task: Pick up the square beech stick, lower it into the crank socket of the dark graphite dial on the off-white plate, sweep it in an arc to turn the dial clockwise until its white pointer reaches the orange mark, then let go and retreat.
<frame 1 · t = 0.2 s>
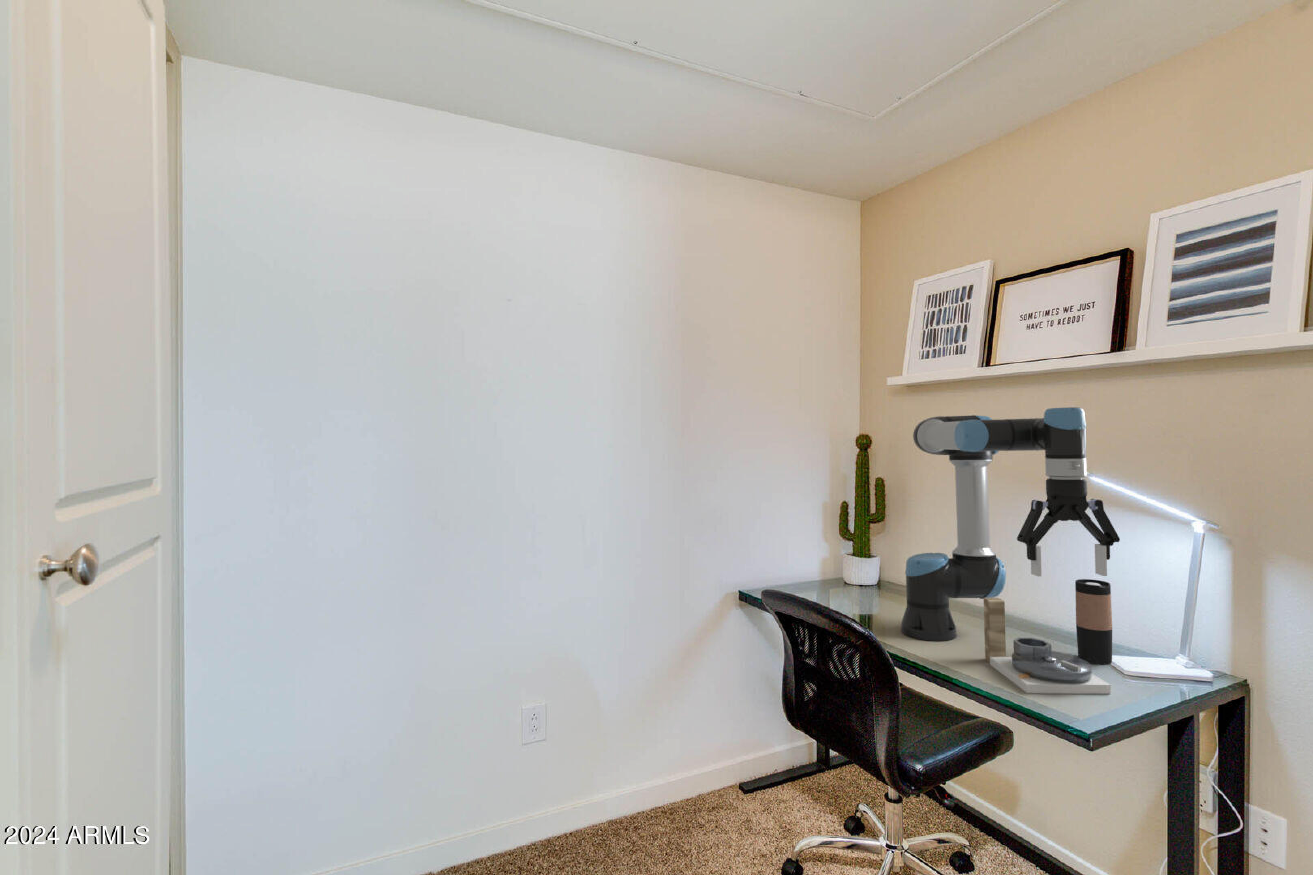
hand: (1068, 575, 135), 28 cm above the table, fingers open, 13 cm apart
stick: (995, 661, 159), on the table
dial: (1049, 658, 147), point 5 cm above the table, hinge at 0.0°
plate: (1046, 678, 147), on the table
travel mug: (1094, 660, 159), on the table
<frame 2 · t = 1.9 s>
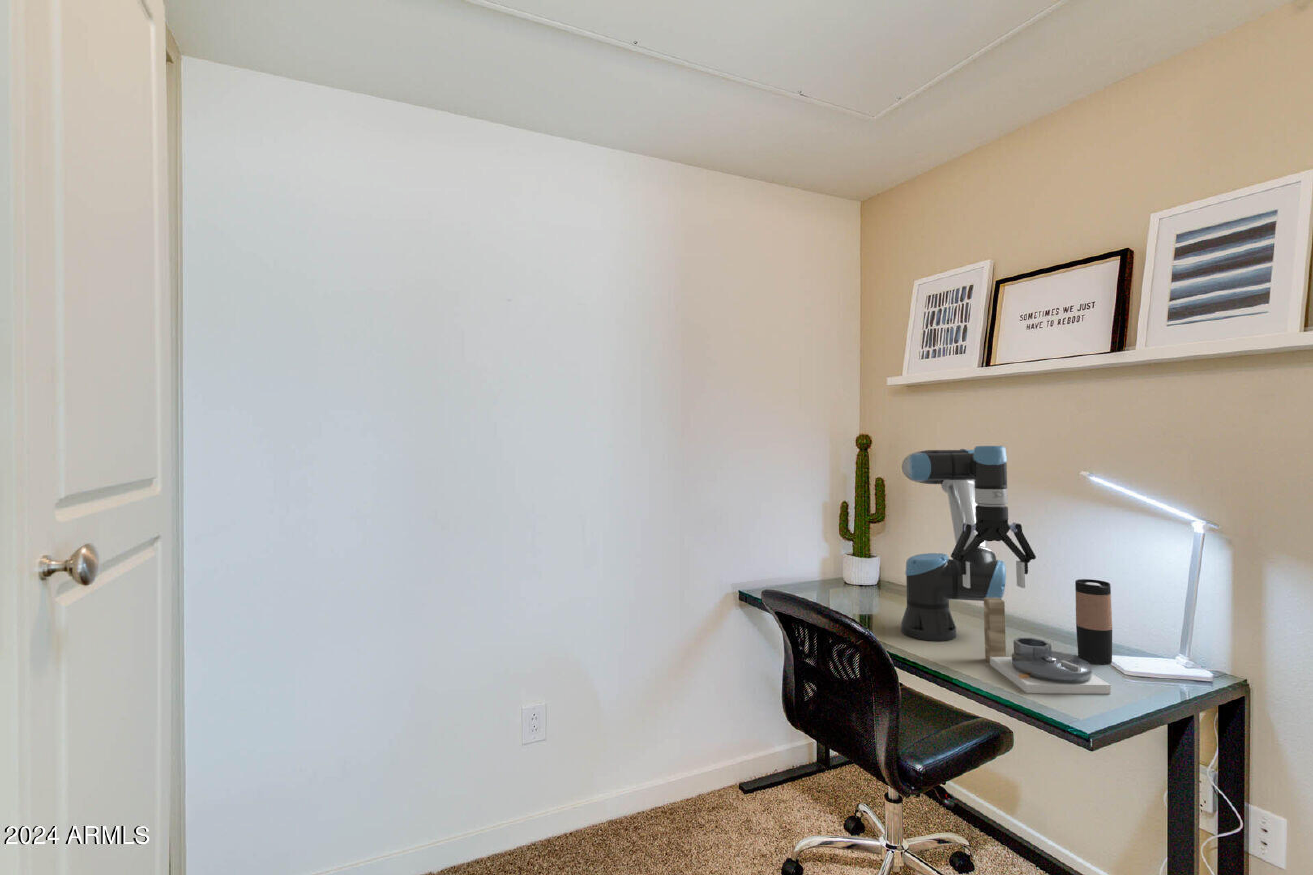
hand: (993, 587, 159), 19 cm above the table, fingers open, 13 cm apart
nothing on the table moved.
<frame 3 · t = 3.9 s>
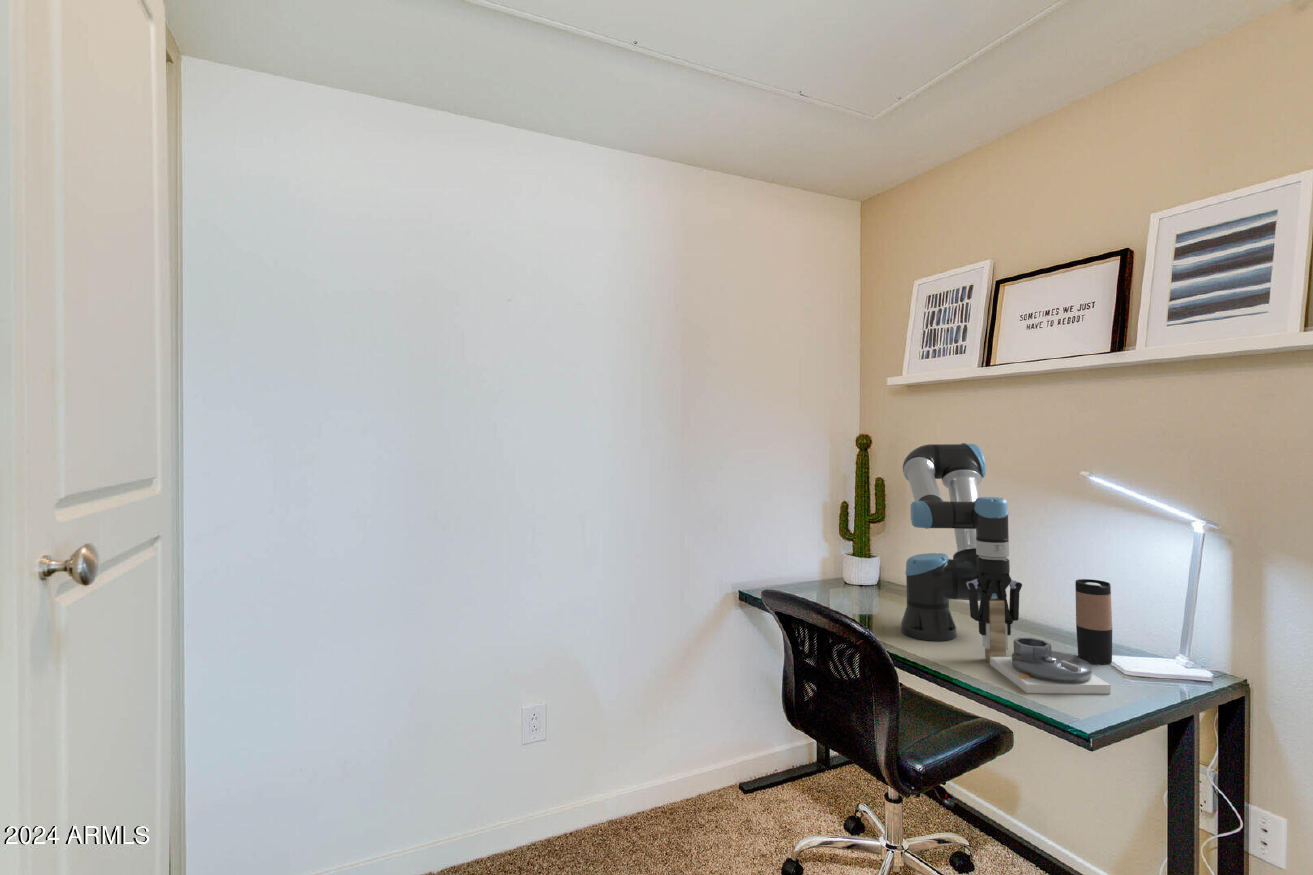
hand: (995, 647, 159), 4 cm above the table, fingers closed on stick, 4 cm apart
stick: (995, 661, 159), on the table, touching gripper
everything else where it was.
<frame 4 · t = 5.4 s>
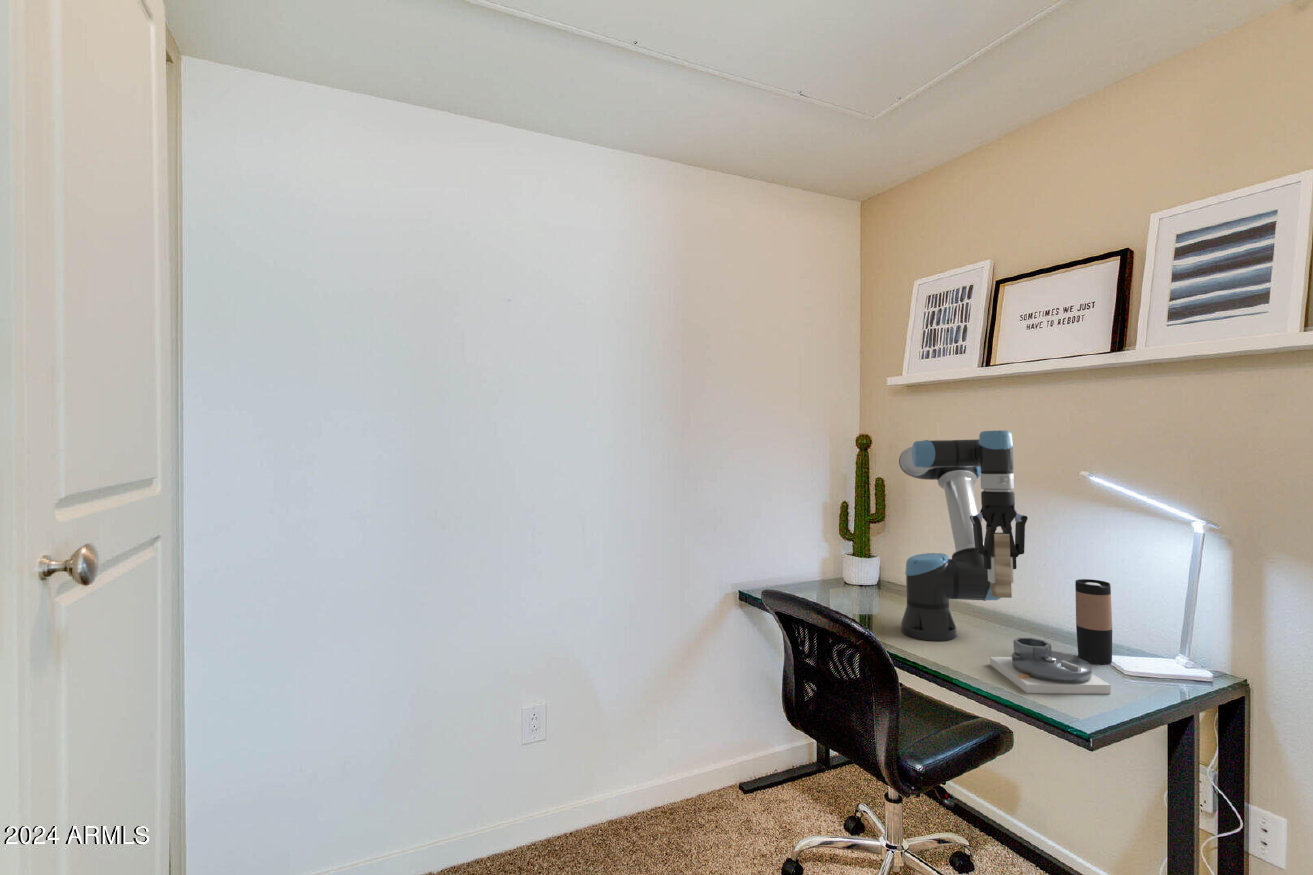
hand: (1000, 581, 157), 21 cm above the table, fingers closed on stick, 4 cm apart
stick: (1001, 596, 157), point 17 cm above the table, touching gripper
everything else where it was.
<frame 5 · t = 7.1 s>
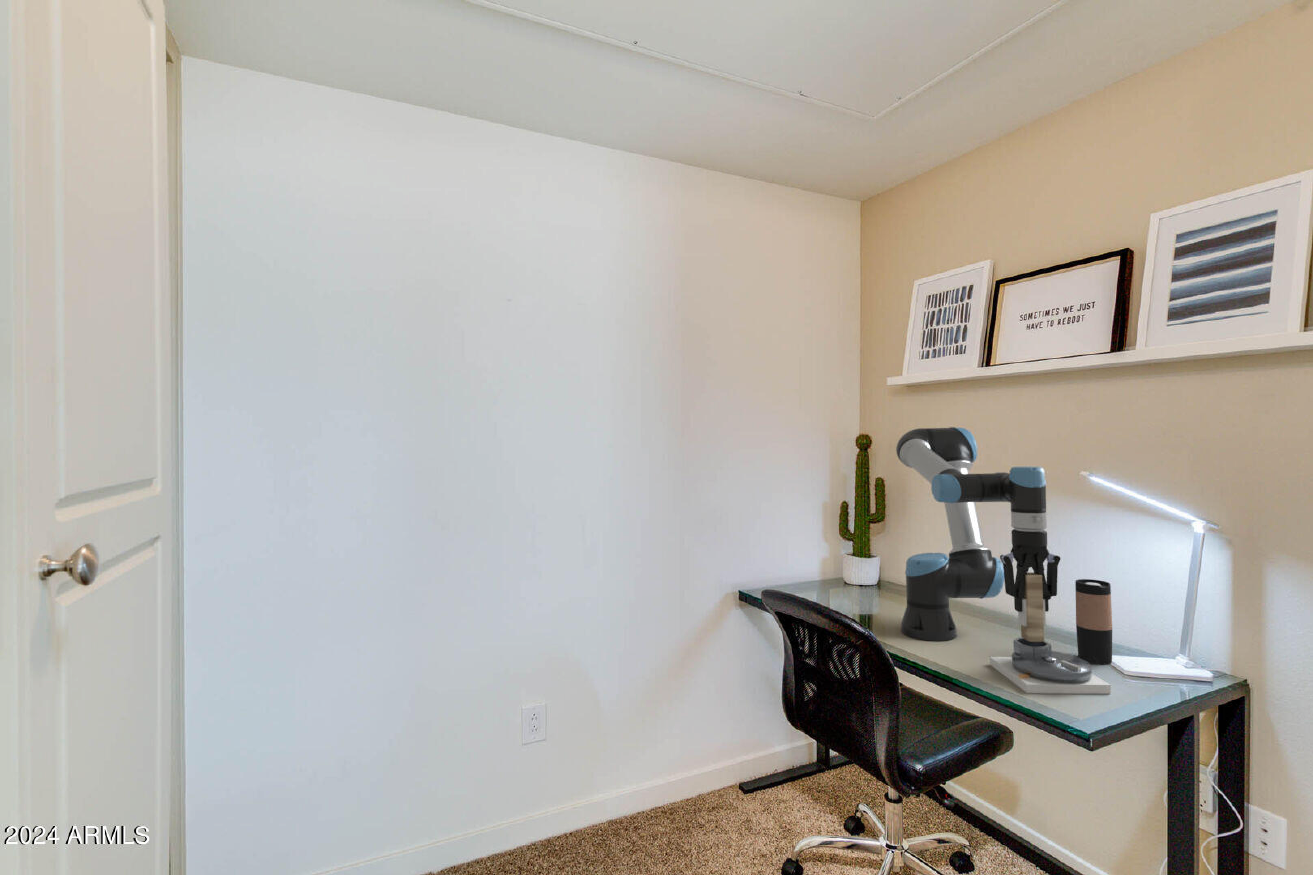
hand: (1032, 624, 151), 12 cm above the table, fingers closed on stick, 4 cm apart
stick: (1032, 639, 151), point 8 cm above the table, touching gripper
everything else where it was.
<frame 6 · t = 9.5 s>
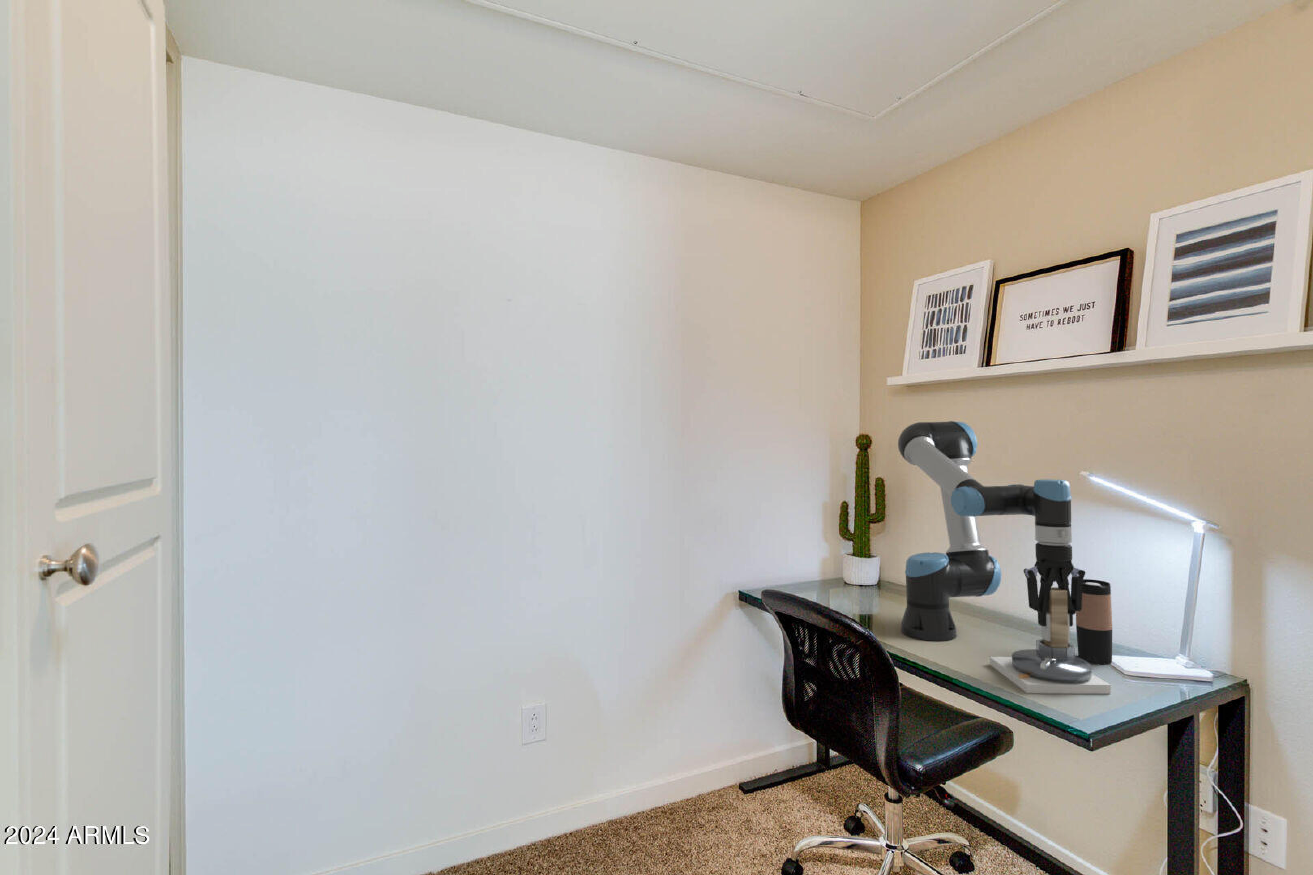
hand: (1055, 639, 150), 9 cm above the table, fingers closed on stick, 4 cm apart
stick: (1056, 654, 149), point 5 cm above the table, touching dial, gripper
dial: (1050, 658, 147), point 5 cm above the table, hinge at 59.8°, touching stick
everything else where it was.
when the fingers open (9 cm above the table, at t = 10.4 s): stick stays where it is, resting on dial.
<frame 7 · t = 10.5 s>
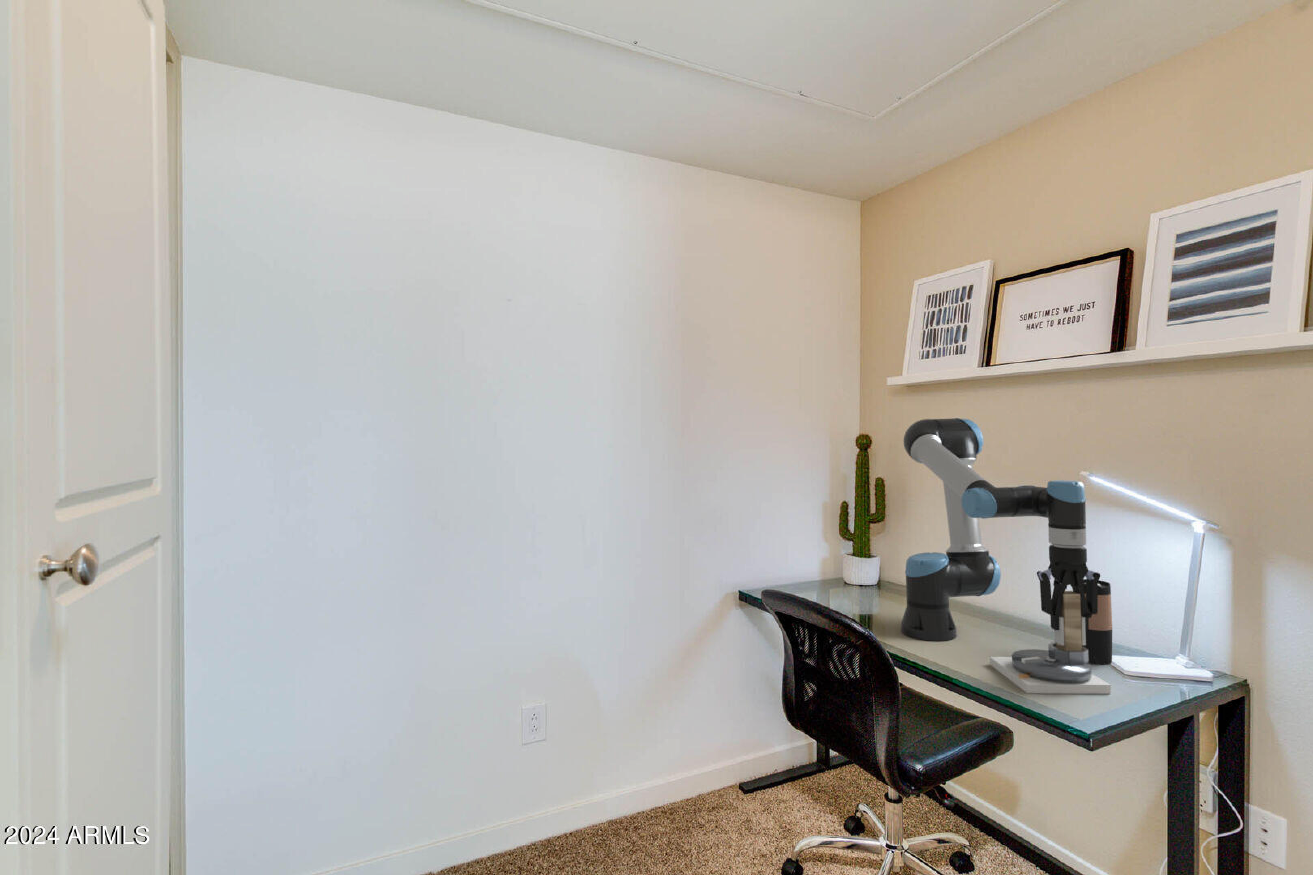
hand: (1070, 643, 147), 9 cm above the table, fingers open, 4 cm apart
stick: (1069, 659, 147), point 5 cm above the table, touching dial
dial: (1051, 658, 146), point 5 cm above the table, hinge at 94.7°, touching stick
everything else where it was.
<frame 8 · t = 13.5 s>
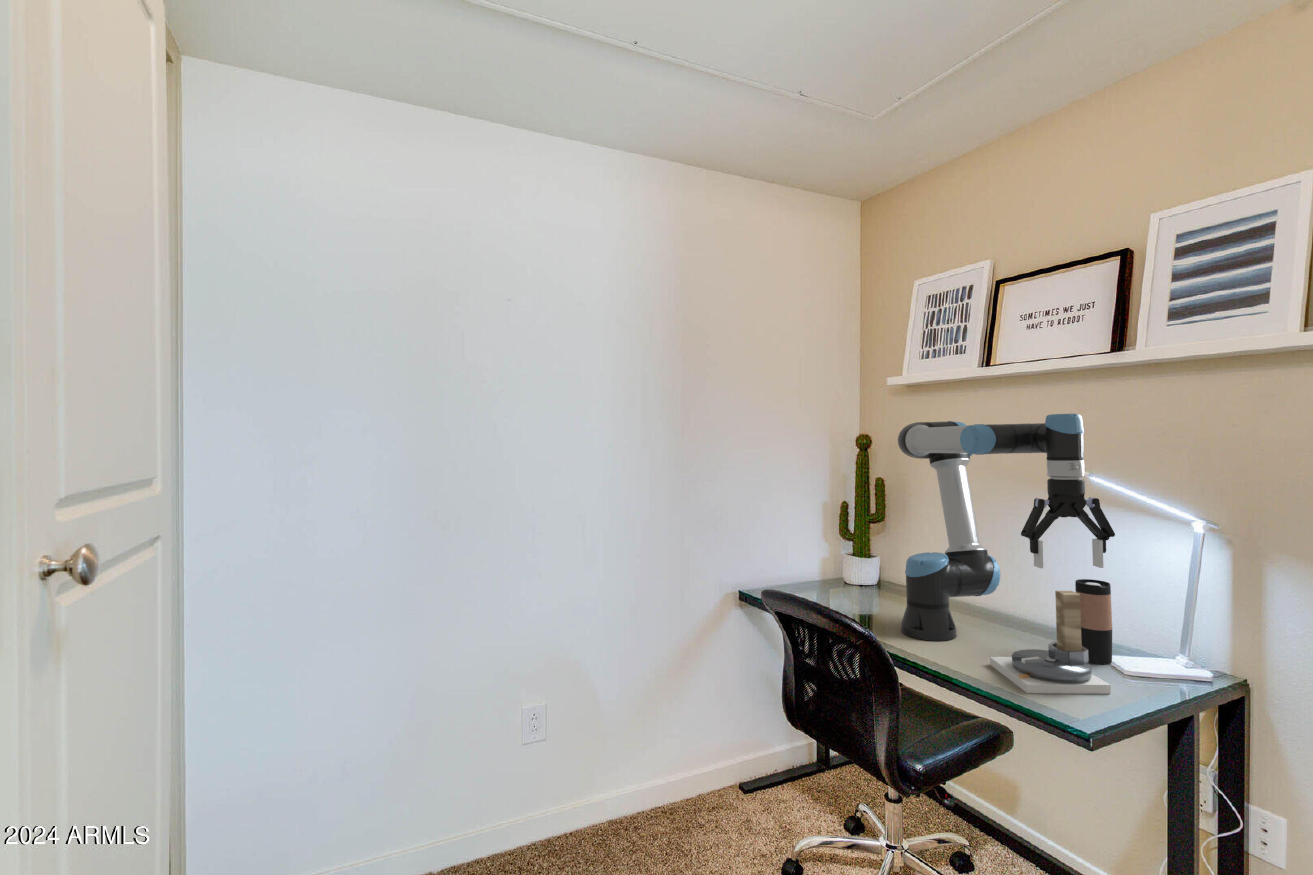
hand: (1068, 567, 147), 27 cm above the table, fingers open, 13 cm apart
nothing on the table moved.
at the end: dial at +95° (first picture: +0°); stick 4.8 cm from the dial (horizontally); the gripper is holding nothing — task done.
